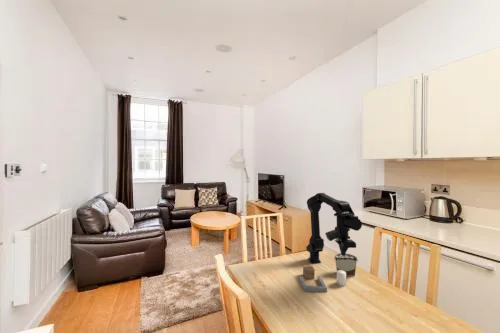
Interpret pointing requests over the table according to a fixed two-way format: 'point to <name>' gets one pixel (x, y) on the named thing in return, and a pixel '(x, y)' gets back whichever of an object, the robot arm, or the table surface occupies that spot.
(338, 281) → the white rounded cylinder
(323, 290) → the grey bay
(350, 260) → the food container
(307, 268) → the walnut block
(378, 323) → the table surface
